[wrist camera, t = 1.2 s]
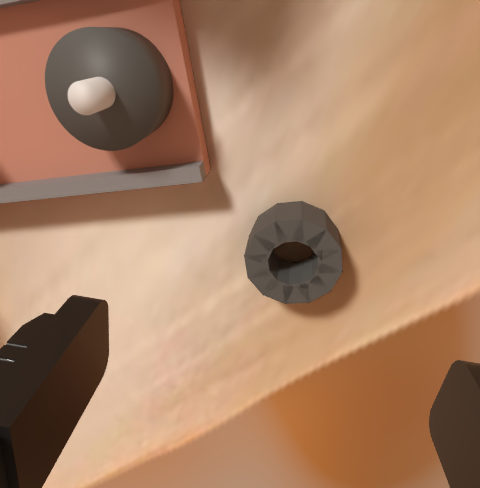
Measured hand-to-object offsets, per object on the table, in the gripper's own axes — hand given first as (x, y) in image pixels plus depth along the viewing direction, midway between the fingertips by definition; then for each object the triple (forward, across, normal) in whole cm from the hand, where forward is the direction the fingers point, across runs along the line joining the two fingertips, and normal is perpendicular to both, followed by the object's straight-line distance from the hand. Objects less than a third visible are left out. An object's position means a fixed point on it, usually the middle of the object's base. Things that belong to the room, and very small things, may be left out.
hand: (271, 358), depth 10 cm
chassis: (+20, +16, -2) cm, 25 cm away
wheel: (+19, -2, +6) cm, 20 cm away
